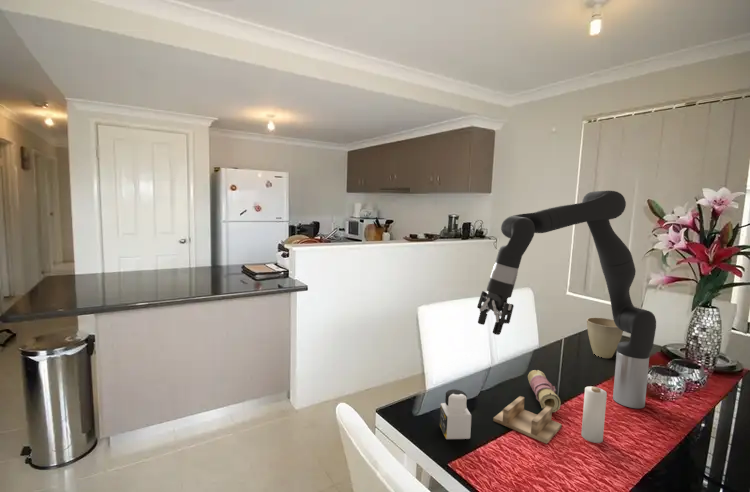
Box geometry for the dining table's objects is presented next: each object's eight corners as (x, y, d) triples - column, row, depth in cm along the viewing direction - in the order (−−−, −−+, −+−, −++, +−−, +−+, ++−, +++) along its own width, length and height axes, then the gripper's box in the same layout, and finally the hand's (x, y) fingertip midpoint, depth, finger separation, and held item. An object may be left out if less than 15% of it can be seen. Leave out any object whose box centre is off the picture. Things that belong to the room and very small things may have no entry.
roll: (584, 429, 112) (588, 382, 111) (605, 437, 109) (609, 388, 107) (578, 437, 109) (582, 388, 107) (600, 445, 105) (604, 395, 104)
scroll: (568, 412, 120) (552, 384, 139) (558, 390, 120) (544, 366, 139) (544, 419, 121) (532, 391, 141) (534, 397, 121) (524, 372, 141)
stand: (510, 407, 125) (511, 392, 124) (561, 427, 114) (562, 411, 113) (493, 420, 116) (494, 405, 116) (546, 443, 105) (548, 426, 104)
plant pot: (577, 349, 181) (579, 317, 179) (605, 349, 182) (608, 317, 181) (598, 362, 166) (601, 326, 165) (629, 361, 168) (632, 326, 166)
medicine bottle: (439, 425, 113) (441, 386, 112) (462, 425, 113) (464, 386, 112) (445, 439, 106) (447, 398, 104) (470, 439, 106) (472, 398, 105)
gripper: (527, 288, 111) (511, 339, 112) (499, 276, 124) (485, 322, 126) (506, 283, 109) (490, 336, 110) (480, 272, 122) (466, 319, 124)
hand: (488, 328), depth 118 cm, fingers open, 8 cm apart
